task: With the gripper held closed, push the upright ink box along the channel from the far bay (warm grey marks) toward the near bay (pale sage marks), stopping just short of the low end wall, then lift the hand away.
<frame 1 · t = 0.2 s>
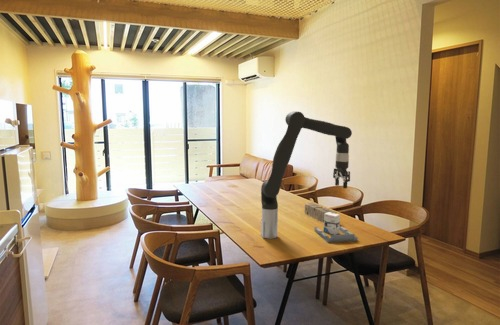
hand: (340, 186, 202), 28 cm above the table, fingers open, 8 cm apart
channel: (335, 235, 199), on the table
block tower: (319, 218, 236), on the table
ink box: (331, 232, 205), on the table
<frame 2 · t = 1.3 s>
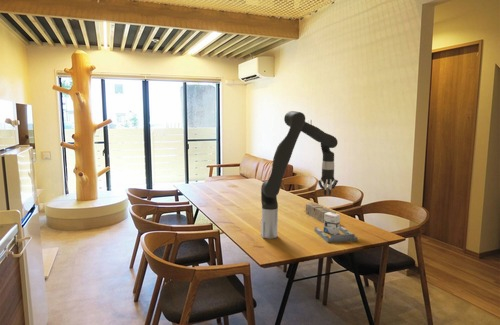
hand: (327, 195, 212), 21 cm above the table, fingers closed
nothing on the table moved.
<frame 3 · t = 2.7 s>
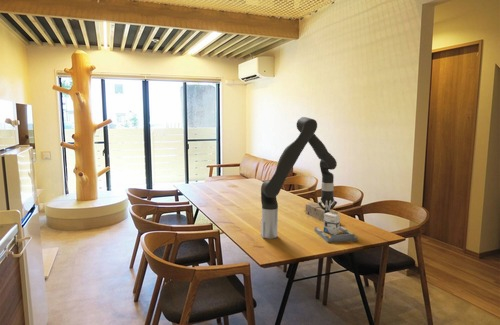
hand: (326, 215, 214), 8 cm above the table, fingers closed
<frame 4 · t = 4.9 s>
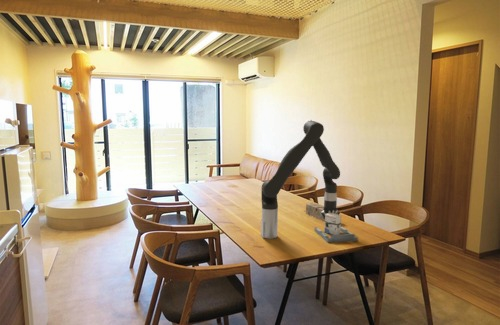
hand: (329, 226, 209), 3 cm above the table, fingers closed
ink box: (332, 233, 204), on the table, touching gripper
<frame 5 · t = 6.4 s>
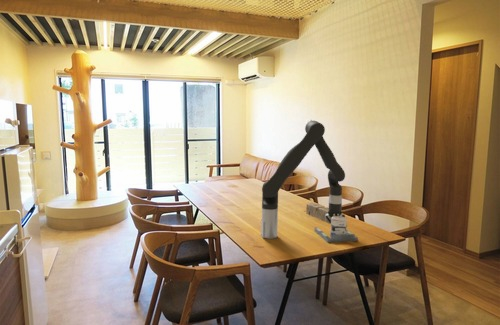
hand: (334, 230, 202), 2 cm above the table, fingers closed
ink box: (338, 237, 197), on the table, touching gripper
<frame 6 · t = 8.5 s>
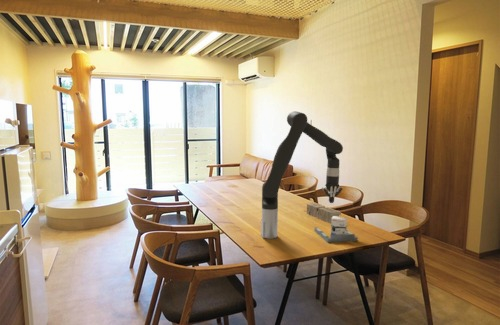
hand: (331, 202, 205), 18 cm above the table, fingers closed
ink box: (338, 237, 197), on the table
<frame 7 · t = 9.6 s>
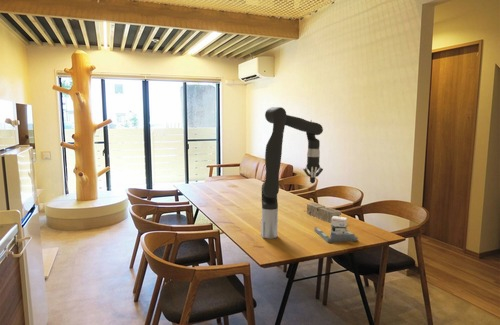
hand: (312, 183, 210), 29 cm above the table, fingers closed
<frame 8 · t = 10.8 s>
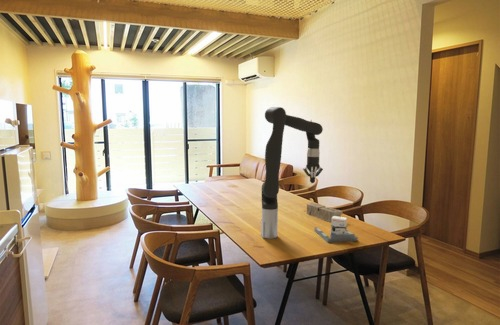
hand: (312, 182, 210), 29 cm above the table, fingers closed
at the end: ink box inside the target area (1.7 cm from its centre), on the table; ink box tilted 0°; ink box moved 8.2 cm from its start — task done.
